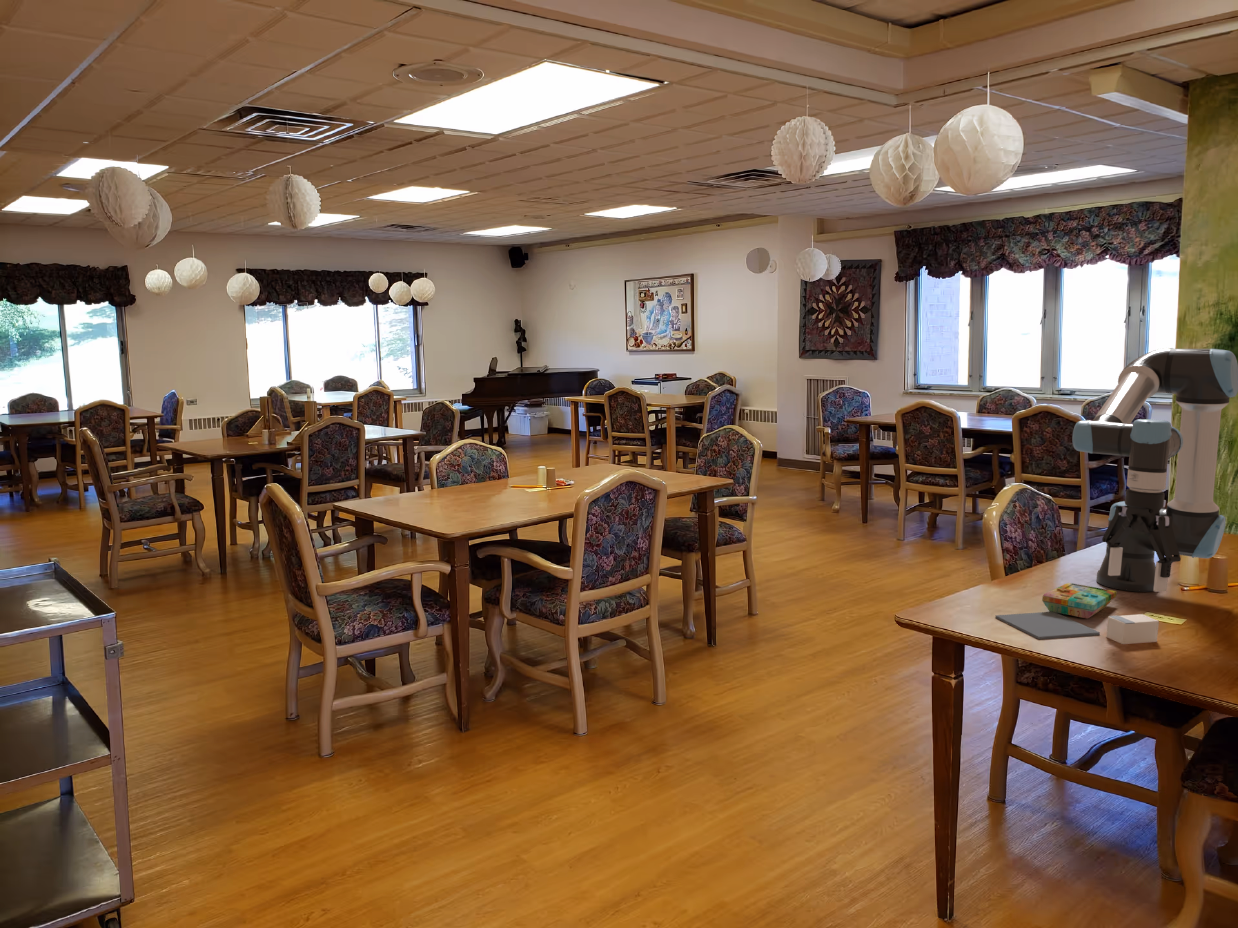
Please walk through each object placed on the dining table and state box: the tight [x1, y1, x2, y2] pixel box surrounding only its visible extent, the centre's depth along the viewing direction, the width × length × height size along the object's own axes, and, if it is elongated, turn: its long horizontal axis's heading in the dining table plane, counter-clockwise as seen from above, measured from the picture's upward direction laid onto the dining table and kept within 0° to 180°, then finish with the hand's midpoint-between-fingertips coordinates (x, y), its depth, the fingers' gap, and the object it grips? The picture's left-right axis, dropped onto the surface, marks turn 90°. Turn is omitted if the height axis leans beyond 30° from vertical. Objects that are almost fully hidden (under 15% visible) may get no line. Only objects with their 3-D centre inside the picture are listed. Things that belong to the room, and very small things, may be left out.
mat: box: [995, 611, 1101, 640], centre depth 221 cm, size 16×16×1 cm
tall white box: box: [1105, 613, 1160, 645], centre depth 212 cm, size 9×5×5 cm, turn 102°
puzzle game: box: [1042, 582, 1118, 620], centre depth 234 cm, size 12×5×20 cm
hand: (1136, 583), depth 210 cm, fingers open, 13 cm apart
